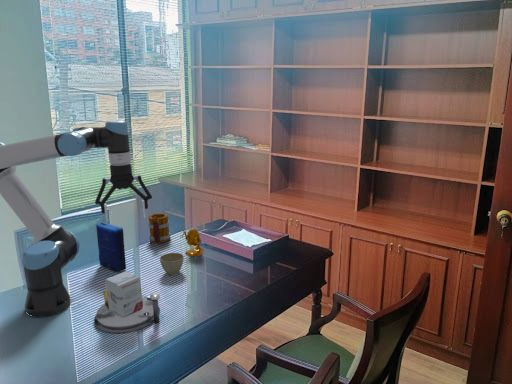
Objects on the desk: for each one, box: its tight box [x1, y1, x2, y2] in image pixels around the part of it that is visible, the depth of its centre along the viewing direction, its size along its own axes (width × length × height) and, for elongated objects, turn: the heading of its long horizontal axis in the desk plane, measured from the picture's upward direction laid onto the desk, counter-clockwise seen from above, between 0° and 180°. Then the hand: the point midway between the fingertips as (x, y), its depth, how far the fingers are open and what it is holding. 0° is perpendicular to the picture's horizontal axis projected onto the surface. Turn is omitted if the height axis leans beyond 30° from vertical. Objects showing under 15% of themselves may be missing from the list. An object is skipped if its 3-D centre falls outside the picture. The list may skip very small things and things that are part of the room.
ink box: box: [105, 271, 143, 317], centre depth 152 cm, size 9×9×12 cm
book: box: [95, 221, 127, 273], centre depth 190 cm, size 14×5×20 cm, turn 53°
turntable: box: [96, 289, 154, 329], centre depth 153 cm, size 20×20×7 cm
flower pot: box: [159, 252, 185, 276], centre depth 187 cm, size 10×10×7 cm
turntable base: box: [93, 293, 161, 334], centre depth 153 cm, size 22×22×10 cm
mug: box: [147, 212, 171, 245], centre depth 222 cm, size 11×16×15 cm, turn 4°
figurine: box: [180, 228, 204, 257], centre depth 206 cm, size 9×11×12 cm
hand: (126, 219), depth 166 cm, fingers open, 13 cm apart
